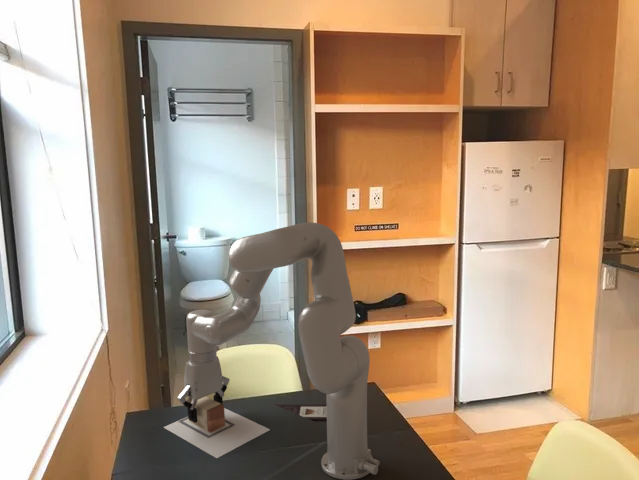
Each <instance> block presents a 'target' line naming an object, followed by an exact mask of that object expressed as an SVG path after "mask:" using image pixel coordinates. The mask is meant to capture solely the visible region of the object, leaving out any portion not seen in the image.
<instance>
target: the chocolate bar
mask: <svg viewBox="0 0 639 480" xmlns="http://www.w3.org/2000/svg"><path fill="white" fill-rule="evenodd" d="M275 406H276V407H278V408H279V407H280V408H282V409H284V410H286V411H289V412H292V413H293V414H295V415H298V416H301V417H302V418H305V419H308V420H310V421H312V422H327V408H326V404H275Z"/></svg>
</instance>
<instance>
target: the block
mask: <svg viewBox="0 0 639 480" xmlns="http://www.w3.org/2000/svg"><path fill="white" fill-rule="evenodd" d="M192 401H193V399H192ZM191 403H192V402H191ZM195 408H196V409H197V422H196V423H194V422H192V421H190V420H189V422H191V423H193V424H195V425H197V426H199V427H201V428H202V429H204V430H206V431H208V432H210V433H211V432H213V431H215V430H217V429H219V428H221V427H223V426H225V414H224V408H225V405H224V403H223V404H221V403H218V402H216V401H214V399H213V398H212V399H211V398H209V397H208V396H206V397H203V398H201V399H198V401H197V403H196V406H195ZM188 419H189V418H188Z"/></svg>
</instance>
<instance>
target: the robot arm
mask: <svg viewBox="0 0 639 480" xmlns="http://www.w3.org/2000/svg"><path fill="white" fill-rule="evenodd" d="M308 259H310V260H311V270H310V279H311V286H312V289H313V295H314V300H313V301H310V302H309V303H307V305H305V306H304V308H302V310H301V312H300V315H299V317H298V325H297V326H298V328H297V330H298V336H299V341H300V345H301V350H302V354H303V359H304V364H305V369H306V373H307V375H308V378H309V380H310V382H311V384H312V386H313V387H314V388H315V389H316V390H317V391H318V392H320V393H323V394H324V395H325V394H326V397H325V398H326V404H325V405H326V408H327V421H326V440H327V441H326V444H327V445H326V446H327V447H326V448H327V451H326V452H325V453H324V454H323V455H322V457H321V461H320V464H321V469H322V470H323V472H325V474H327V475H328V476H330V477H332V478H335V479H338V480H357V479H358V480H359V479H362V478H364V477H366V476H368V475H369V474H372V475H374V476H375V475H377V473H378V471H379V466H380V464H381V463H380V460H378V459H376V458H374V457H373V456H372V449H370V448H368V415H367V414H368V409H367V408H368V407H367V406H368V401H367V400H368V398H367V397H368V380H369V379H368V378H369V372H370V361H371V359H370V352H369V350H368V347H367V345H366V343H365V342H364V341H363V340H362V339H360V338H358V337H357V336H356V335H343V336H342V334H344V333H345V332H347V331H348V330H350V329H351V328H352V327H353V326H354V324H355V322H356V318H357V316H356V307H355V303H354V298H353V292H352V288H351V283H350V280H349V276H348V271H347V266H346V258H345V253H344V248H343V244H342V242H341V240H340V238H339V237H338V235H337V234H336V233H335V231H333V229H331V228H330V227H329V226H326V225H325V224H323V223H322V224H321V223H318V222H311V221H310V222H302V223H301V222H300V223H295V224H293V225H289V226H288V225H287V226H284V227H281V228H276V229H272V230H269V231H265V232H261V233H257V234H256V233H255V234H252V235H247V236H243V237H242V236H241V238H238V239H236V240H235V241H233V243H232V245H231V246H230V249H229V252H228V261H229V265H231V268H232V269H233V271H232V273H231V276H230V278H229V282H228V283H229V286H230V289H231V290H232V291H233V293H235V294H236V295H238V296H237V299H236V300H235V302H234V304H233V305H232V307H231V308H230V309H227V310H225V311H223V312H221V313H218V314H216V315H215V314H214V312H213V311H212V310H209V309H196V310H192V311H190V312H189V313H187V314H186V318H185V319H186V332H187V333H186V335H187V336H186V337H187V339H186V340H187V352H188V353H187V354H188V355H187V356H188V361H186V362H185V368H184V375H183V376H184V378H183V388H184V389H183V390H182V391H181V392H180V393H179V394H178V396H177V398H176V399H177V400H178V402H180V403H181V405H183V406H184V407H185V408H187V417H188V418H189V420H190V421H192V422H194V423H196V422H197V409H196V408H195V406H196V403H197V401H198V399H201V398H203V397H208V396H210V395H213V398H212V399H213V400H214V401H216V402H218V403H221V404H223V405H224V403H223V402H224V401H223V398H224V396H225V392H226V391H227V389H228V385H229V382H230V381H231V380H230V378H229V377H226V376H224V375H223V372H222V368H221V363H220V358H219V356H218V355H217V352H218V351H219V350H220V347H219V346H222V345H223V344H225V343H227V342H229V341H231V340H233V339H235V338H237V337H239V336H242V335H244V334H245V333H246V332H247V331H248V330H249V329H250V328H251V326H252V325H253V322H254V321H255V319H256V318H257V315H258V313H259V311H260V308H261V302H262V300H261V299H262V298H261V292H262V291H263V289H264V287H265V285H266V283H267V281H268V280H269V277H270V276H271V274H272V272H273V270H274V269H278V268H284V267H287V266H291V265H294V264H297V263H299V262H302V261H305V260H308ZM186 398H187V399H186ZM192 399H193V401H192ZM191 402H192V403H191Z"/></svg>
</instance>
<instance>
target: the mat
mask: <svg viewBox="0 0 639 480" xmlns="http://www.w3.org/2000/svg"><path fill="white" fill-rule="evenodd" d="M224 414H225V426H223V427H221V428H219V429H217V430H215V431H213V432H211V433H210V432H208V431H206V430H204V429H202V428H201V427H199V426H197V425H195V424H193V423H191V422H189V419H188V416H186V417H183V418H181V419H179V420H177V421H175V422H172V423H170V424H168V425H166V426H163V428H164V429H165V430H167V431H169V432H171V433H173V434H174V435H175V436H177V437H179V438H181V439H183V440H185V441H186V442H188V443H190V444H191V445H193V446H194V447H197V448H198V449H200V450H202V451H203V452H205V453H206V454H207V455H211V456H212V457H214V458H215V459H219V458H221V457H222V456H224V455H226V454H228V453H230V452H232V451H233V450H236V449H237V448H239V447H241V446H243V445H244V444H247V443H248V442H250V441H252V440H254V439H255V438H258V437H260V436H262V435H263V434H266V433H267V432H268V431H271V429H269V428H268V427H266V426H264V425H261V424H259V423H257V422H255V421H253V420H251V419H249V418H247V417H244V416H243V415H240V414H238V413H237V412H236V413H235V412H234V411H232V410H230V409H227V408H225V407H224Z"/></svg>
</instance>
